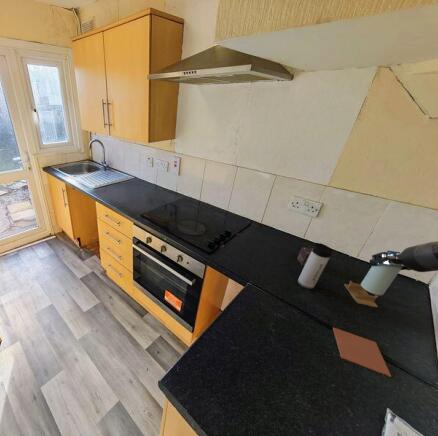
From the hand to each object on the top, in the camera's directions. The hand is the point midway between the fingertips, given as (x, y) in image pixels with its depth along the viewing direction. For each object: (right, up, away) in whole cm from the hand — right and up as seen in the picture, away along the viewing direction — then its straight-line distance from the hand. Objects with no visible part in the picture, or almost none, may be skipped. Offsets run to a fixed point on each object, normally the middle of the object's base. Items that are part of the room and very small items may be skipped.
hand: (383, 265), depth 78 cm
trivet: (-13, -27, -5) cm, 30 cm away
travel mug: (-11, -13, +22) cm, 28 cm away
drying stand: (+9, -16, +18) cm, 26 cm away
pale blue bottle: (0, 0, +2) cm, 2 cm away
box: (-2, -7, +36) cm, 37 cm away
